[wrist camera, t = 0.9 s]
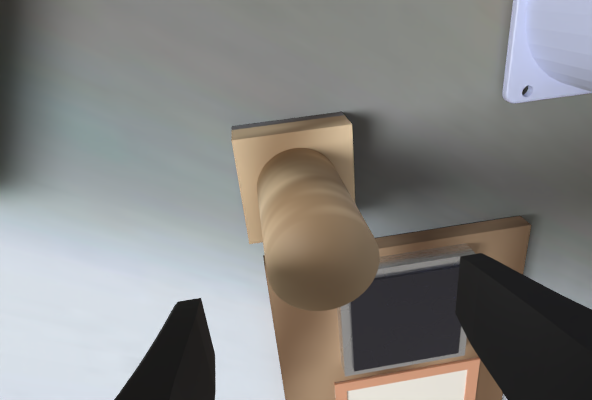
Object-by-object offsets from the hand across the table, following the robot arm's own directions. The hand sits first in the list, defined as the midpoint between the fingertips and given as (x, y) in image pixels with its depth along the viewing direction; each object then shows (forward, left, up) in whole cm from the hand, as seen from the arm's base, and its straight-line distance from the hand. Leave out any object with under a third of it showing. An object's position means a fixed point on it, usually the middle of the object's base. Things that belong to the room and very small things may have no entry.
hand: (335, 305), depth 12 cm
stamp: (0, 0, -10) cm, 10 cm away
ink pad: (-5, +8, -9) cm, 13 cm away
